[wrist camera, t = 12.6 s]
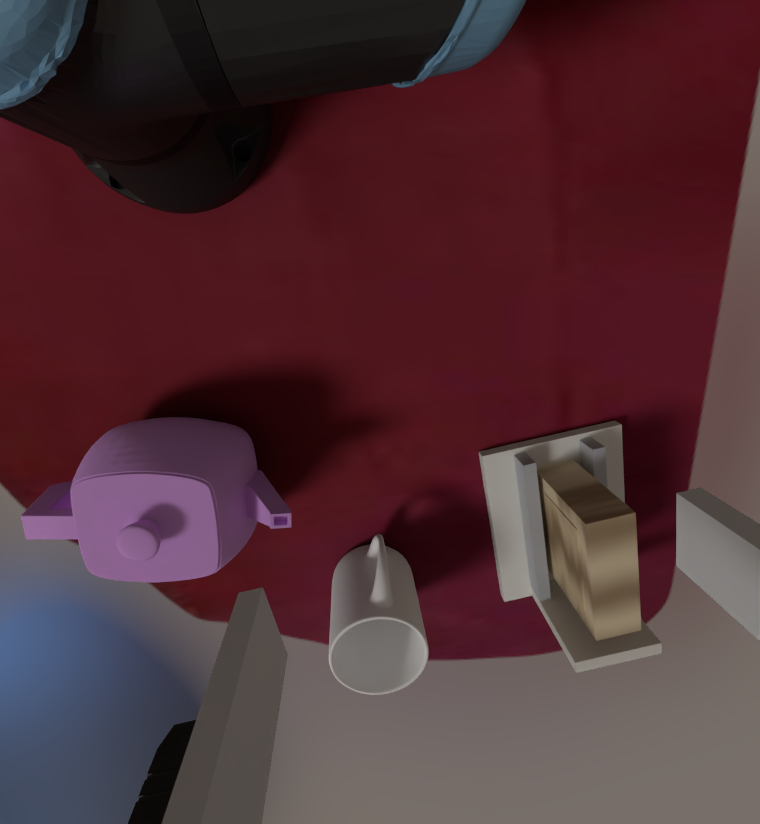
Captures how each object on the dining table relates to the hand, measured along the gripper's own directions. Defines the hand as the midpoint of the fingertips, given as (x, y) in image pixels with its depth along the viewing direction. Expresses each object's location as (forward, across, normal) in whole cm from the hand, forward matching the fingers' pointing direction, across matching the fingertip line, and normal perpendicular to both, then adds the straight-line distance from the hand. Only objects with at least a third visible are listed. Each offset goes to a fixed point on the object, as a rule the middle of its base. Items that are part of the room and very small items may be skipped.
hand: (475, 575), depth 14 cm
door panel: (+28, +14, -19) cm, 36 cm away
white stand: (+29, +14, -19) cm, 37 cm away
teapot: (+29, -20, -5) cm, 36 cm away
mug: (+29, -6, -20) cm, 36 cm away
